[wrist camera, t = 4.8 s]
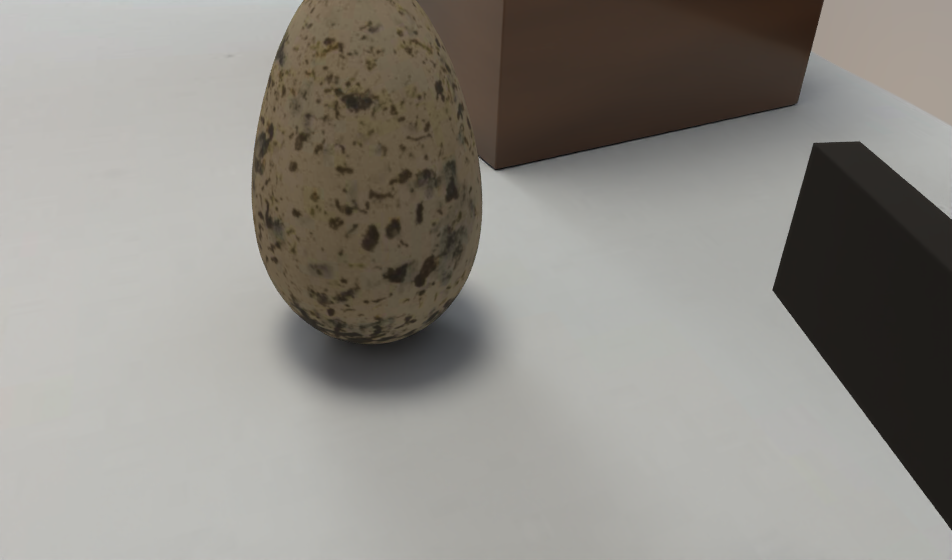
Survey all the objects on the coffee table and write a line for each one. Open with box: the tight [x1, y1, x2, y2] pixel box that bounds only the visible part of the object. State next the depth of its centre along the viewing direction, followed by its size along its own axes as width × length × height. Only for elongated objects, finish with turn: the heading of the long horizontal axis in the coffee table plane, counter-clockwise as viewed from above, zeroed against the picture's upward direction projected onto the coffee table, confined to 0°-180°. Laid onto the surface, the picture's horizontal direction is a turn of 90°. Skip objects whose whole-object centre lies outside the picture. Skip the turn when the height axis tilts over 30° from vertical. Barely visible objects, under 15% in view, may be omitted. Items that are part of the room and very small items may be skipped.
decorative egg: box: [252, 0, 482, 344], centre depth 22 cm, size 6×6×10 cm
